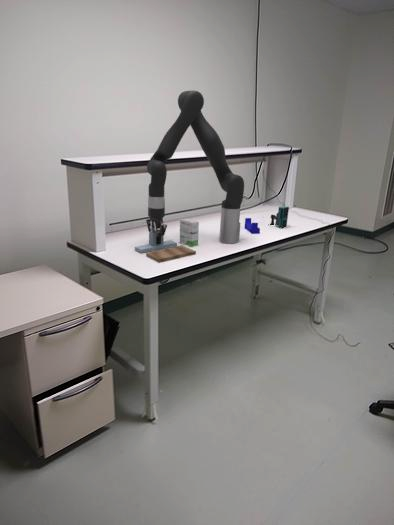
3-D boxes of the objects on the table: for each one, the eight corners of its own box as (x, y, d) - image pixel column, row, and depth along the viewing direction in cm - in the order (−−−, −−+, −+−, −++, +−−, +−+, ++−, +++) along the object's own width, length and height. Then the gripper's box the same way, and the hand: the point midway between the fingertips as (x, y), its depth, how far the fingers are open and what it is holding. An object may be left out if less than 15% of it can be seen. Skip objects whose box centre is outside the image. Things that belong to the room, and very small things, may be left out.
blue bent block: (259, 233, 218) (260, 223, 216) (251, 234, 217) (252, 223, 215) (251, 228, 229) (252, 217, 227) (244, 228, 228) (245, 218, 226)
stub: (170, 243, 194) (170, 228, 192) (176, 245, 190) (177, 230, 188) (134, 250, 182) (134, 234, 179) (140, 253, 178) (140, 236, 176)
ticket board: (182, 248, 187) (182, 245, 187) (195, 254, 180) (196, 250, 180) (146, 256, 175) (146, 252, 175) (159, 262, 168) (159, 258, 168)
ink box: (198, 245, 194) (199, 221, 190) (191, 247, 190) (192, 222, 186) (186, 241, 199) (186, 217, 195) (178, 242, 196) (179, 219, 192)
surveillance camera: (274, 203, 236) (289, 206, 230) (272, 223, 240) (286, 227, 234) (269, 204, 232) (284, 208, 226) (267, 225, 236) (281, 228, 230)
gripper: (172, 208, 177) (171, 245, 183) (154, 202, 187) (154, 238, 193) (158, 210, 172) (158, 248, 178) (140, 204, 182) (141, 240, 188)
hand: (156, 242), depth 185 cm, fingers closed on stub, 3 cm apart
